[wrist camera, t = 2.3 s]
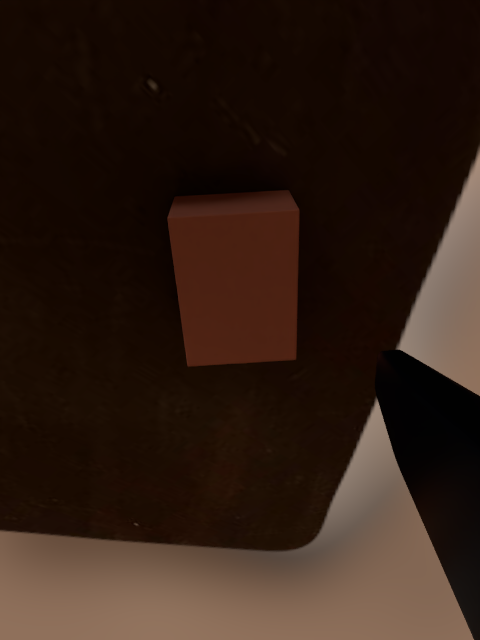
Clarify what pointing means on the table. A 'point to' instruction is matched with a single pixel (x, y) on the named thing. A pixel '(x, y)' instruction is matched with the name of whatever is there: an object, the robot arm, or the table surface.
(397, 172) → the table surface
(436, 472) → the robot arm
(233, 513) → the table surface
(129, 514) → the table surface
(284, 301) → the reddish brown rectangular block
